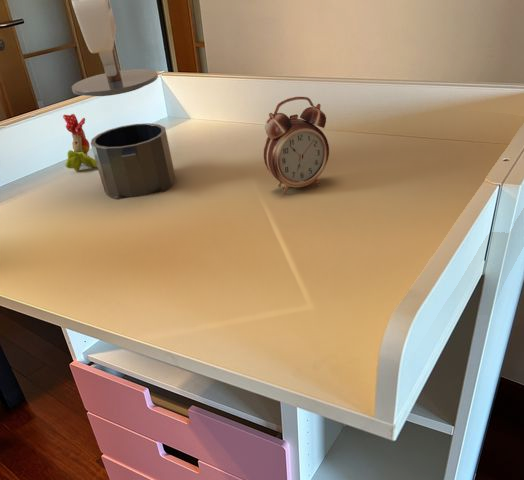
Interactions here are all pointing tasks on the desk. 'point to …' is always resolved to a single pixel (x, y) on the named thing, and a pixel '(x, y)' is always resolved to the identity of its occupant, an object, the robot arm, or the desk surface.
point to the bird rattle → (78, 144)
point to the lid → (115, 82)
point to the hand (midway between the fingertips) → (112, 73)
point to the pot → (134, 160)
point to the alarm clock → (296, 146)
